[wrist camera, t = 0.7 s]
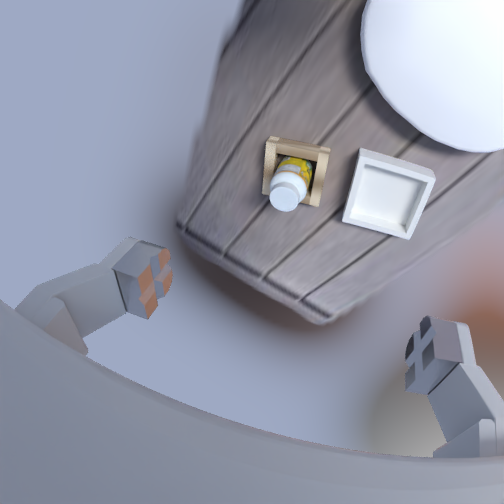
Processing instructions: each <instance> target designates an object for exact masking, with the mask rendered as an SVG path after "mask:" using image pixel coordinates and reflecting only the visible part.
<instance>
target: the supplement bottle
mask: <svg viewBox="0 0 504 504" xmlns="http://www.w3.org/2000/svg"><path fill="white" fill-rule="evenodd" d="M312 172H313V169H312V165H311V163H310V162H309V160H308V159H304V158H299V157H294V156H289V155H287V156H285V157H284V158H283V159H282V161H281V162H280V164H279V166H278V168H277V170H276V172H275V174H274V176H273V178H272V180H271V182H270V191H271V193H270V202H271V204H272V205H273V206H274V207H275V208H276V209H278V210H280V211H285V212H287V211H292V210H294V209H295V208H296V207H297V205H298V203H300V202H301V201H302V200H303V199H304V198H305V196H306V193H307V190H308V186H309V183H310V179H311V176H312Z"/></svg>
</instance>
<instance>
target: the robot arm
mask: <svg viewBox="0 0 504 504" xmlns="http://www.w3.org/2000/svg"><path fill="white" fill-rule="evenodd" d="M170 259H171V258H170V251H169V250H168V249H167V248H165V247H161V246H158V245H155V244H152V243H148V242H145V241H142V240H138V239H135V238H132V237H128V238H125V239H124V240H123V241H122V242H121V243H120V244H119V245H118V246H117V247H116V248H115V249H114V250H113V251H112V252H111V253H109V254H108V255H107V257H105V258H104V259H103V260H102V262H100V263H99V264H92V265H90V266H87V267H84V268H81V269H79V270H76V271H73V272H71V273H68V274H65V275H63V276H60V277H58V278H55V279H52V280H50V281H47V282H45V283H42V284H40V285H37V286H36V287H35V288H34V289H33V290H32V291H31V292H30V293H29V294H28V295H27V296H26V298H25V299H24V300H23V301H22V302H21V303H20V304H19V305H18V306H17V307H16V308H15V310H13V309H12V308H11V307H10V306H8V305H7V304H6V303H4V302H3V301H2V300H0V504H504V402H503V400H502V399H501V397H500V395H499V394H498V392H497V391H496V389H495V388H494V386H493V385H492V384H491V382H490V380H489V379H488V378H487V376H486V375H485V373H484V372H483V370H482V369H481V367H480V366H476V361H475V356H474V350H473V345H472V340H471V336H470V332H469V327H468V326H467V324H464V323H460V322H455V321H449V320H445V319H440V318H435V317H431V316H426V317H424V318H423V320H422V321H421V322H420V330H418V331H416V332H414V333H413V334H412V337H411V338H410V339H409V342H408V344H407V347H406V353H405V362H406V363H407V365H408V366H409V369H408V371H407V372H406V373H405V391H408V392H413V393H419V394H424V395H428V396H427V397H428V399H429V402H430V404H431V406H432V408H433V410H434V412H435V415H436V417H437V419H438V422H439V424H440V426H441V429H442V431H443V434H444V436H445V438H446V441H447V443H446V444H444V445H443V446H441V447H439V448H438V449H437V450H435V451H434V452H433V458H430V457H411V456H399V455H388V454H379V453H371V452H364V451H357V450H350V449H344V448H338V447H333V446H327V445H322V444H317V443H313V442H308V441H303V440H299V439H295V438H291V437H286V436H283V435H278V434H275V433H271V432H267V431H264V430H261V429H257V428H254V427H250V426H247V425H244V424H241V423H237V422H234V421H231V420H228V419H225V418H222V417H219V416H216V415H214V414H211V413H208V412H205V411H203V410H200V409H197V408H195V407H192V406H189V405H187V404H184V403H182V402H179V401H177V400H174V399H172V398H169V397H167V396H165V395H163V394H160V393H158V392H156V391H153V390H151V389H149V388H147V387H145V386H142V385H140V384H138V383H136V382H134V381H132V380H130V379H128V378H125V377H124V376H122V375H120V374H118V373H116V372H114V371H112V370H110V369H108V368H106V367H104V366H102V365H101V364H99V363H97V362H95V361H93V360H91V359H90V358H88V357H86V355H87V353H88V348H87V346H86V344H85V343H84V341H83V339H82V338H83V337H85V336H87V335H89V334H90V333H92V332H94V331H96V330H97V329H99V328H101V327H103V326H104V325H106V324H108V323H109V322H111V321H113V320H115V319H117V318H118V317H120V316H122V315H124V314H126V312H129V313H131V314H134V315H137V316H139V317H142V318H145V319H149V317H150V316H151V314H152V313H153V312H154V310H155V309H156V308H157V306H158V302H157V299H159V298H161V297H164V296H165V295H166V293H167V292H168V291H169V288H170V286H171V283H172V276H173V274H172V269H171V268H170V266H169V265H168V261H169V260H170Z"/></svg>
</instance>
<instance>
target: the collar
mask: <svg viewBox="0 0 504 504" xmlns="http://www.w3.org/2000/svg"><path fill="white" fill-rule="evenodd" d="M330 149H331V148H326V147H322V146H317V145H313V144H308V143H303V142H299V141H294V140H289V139H283V138H278V137H272V136H270V138H269V139H268V140H267V142H266V151H265V163H264V176H263V188H262V194H265V195H269V196H270V193H271V191H270V182H271V180H272V178H273V176H274V174H275V172H276V170H277V161H278V153H279V154H284V155H289V156H294V157H299V158H304V159H308V160H313V161H317V167H316V172H315V177H314V183H313V188H312V189H310V188H308V190H307V193H306V196H305V198H304V199H303V200H302V201H301V202H300V203H304V204H308V205H313V206H317V207H318V206H319V202H320V197H321V193H322V188H323V183H324V178H325V174H326V169H327V164H328V159H329V154H330Z"/></svg>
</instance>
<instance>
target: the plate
mask: <svg viewBox="0 0 504 504" xmlns="http://www.w3.org/2000/svg"><path fill="white" fill-rule="evenodd" d="M360 36H361V51H362V56H363V60H364V65H365V70H366V72H367V73H368V75H369V76H370V78H371V79H372V81H373V82H374V84H375V86H376V87H377V89H378V90H379V92H380V93H381V95H382V97H383V98H384V99H385V100H386V101H387V102H388V103H389V104H390V106H391V107H392V108H393V109H394V110H395V111H396V112H397V113H399V114H400V115H401V116H402V117H403V118H405V119H406V120H407V121H408V122H409V123H411V124H412V125H413V126H414V127H415V128H416V129H417V130H419V131H420V132H422V133H424V134H425V135H427V136H429V137H430V138H432V139H433V140H435V141H438V142H440V143H443V144H446V145H448V146H451V147H453V148H456V149H458V150H464V151H469V152H493V151H497V150H501V149H504V0H367V2H366V5H365V8H364V11H363V14H362V22H361V32H360Z"/></svg>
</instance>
